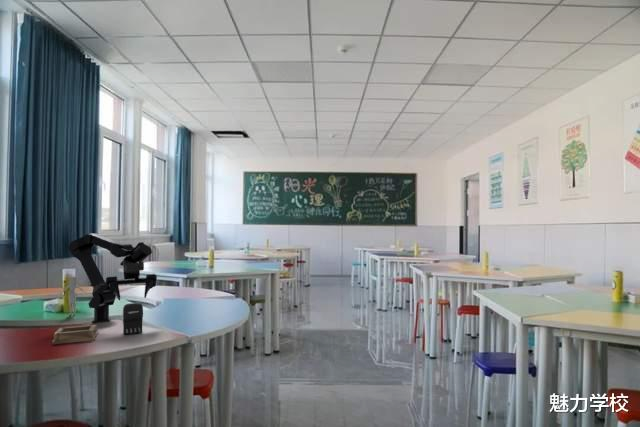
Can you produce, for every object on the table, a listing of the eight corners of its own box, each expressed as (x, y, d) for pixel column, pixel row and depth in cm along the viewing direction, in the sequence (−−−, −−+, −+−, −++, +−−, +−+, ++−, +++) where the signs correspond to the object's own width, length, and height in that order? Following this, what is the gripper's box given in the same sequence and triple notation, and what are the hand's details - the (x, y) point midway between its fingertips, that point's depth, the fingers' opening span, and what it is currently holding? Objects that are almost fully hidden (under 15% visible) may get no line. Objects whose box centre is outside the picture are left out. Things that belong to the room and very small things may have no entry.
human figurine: (86, 312, 192) (87, 275, 192) (87, 314, 188) (88, 275, 189) (56, 316, 185) (57, 277, 185) (57, 317, 181) (57, 278, 182)
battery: (123, 336, 149) (123, 305, 150) (122, 334, 153) (122, 303, 153) (143, 333, 153) (143, 303, 153) (142, 331, 156) (142, 301, 157)
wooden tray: (58, 337, 149) (58, 327, 149) (98, 333, 154) (98, 324, 154) (51, 344, 139) (51, 334, 139) (94, 340, 144) (94, 330, 144)
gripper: (106, 256, 160) (106, 288, 150) (156, 254, 169) (159, 284, 158) (105, 274, 166) (105, 305, 156) (154, 271, 175) (157, 301, 165)
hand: (132, 298), depth 159 cm, fingers open, 9 cm apart
